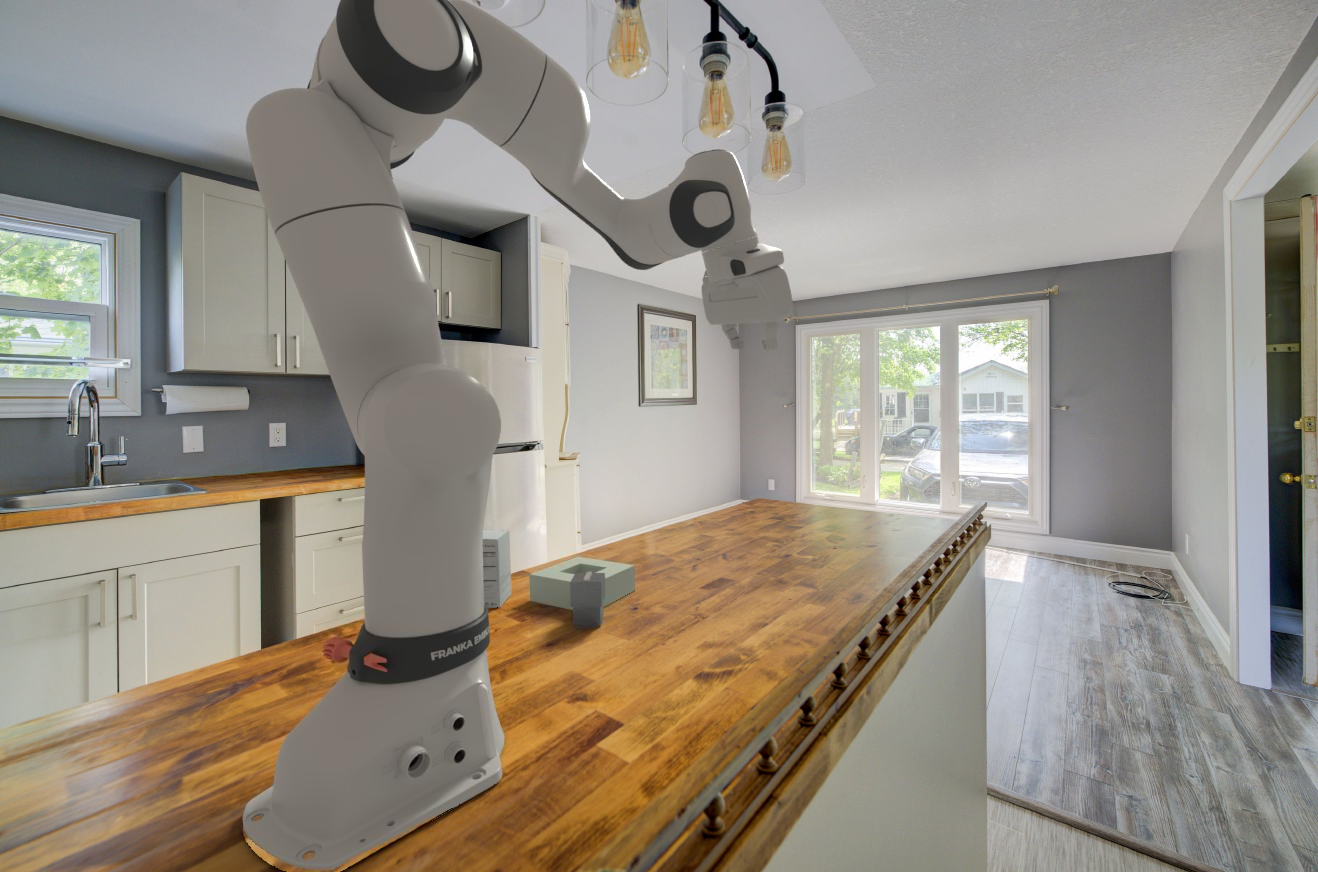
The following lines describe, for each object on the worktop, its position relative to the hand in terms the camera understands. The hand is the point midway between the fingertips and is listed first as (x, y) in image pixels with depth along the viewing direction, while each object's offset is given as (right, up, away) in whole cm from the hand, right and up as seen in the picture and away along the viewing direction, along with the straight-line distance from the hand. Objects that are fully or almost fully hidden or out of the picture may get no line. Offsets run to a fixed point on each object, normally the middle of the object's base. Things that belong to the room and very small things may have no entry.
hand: (753, 348), depth 90 cm
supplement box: (-47, -45, +12) cm, 66 cm away
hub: (-30, -44, +14) cm, 55 cm away
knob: (-27, -45, +1) cm, 53 cm away
